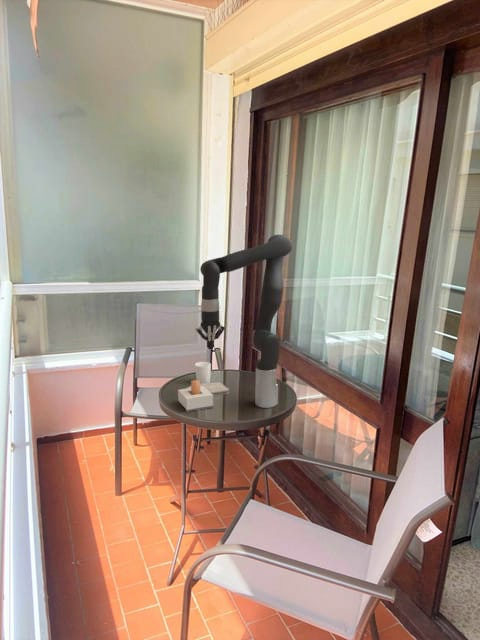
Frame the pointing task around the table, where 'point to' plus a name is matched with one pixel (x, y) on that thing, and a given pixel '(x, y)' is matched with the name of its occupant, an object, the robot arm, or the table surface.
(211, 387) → the washcloth
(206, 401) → the socket block
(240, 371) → the table surface
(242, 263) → the robot arm
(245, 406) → the table surface
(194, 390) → the plug
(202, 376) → the white cup
